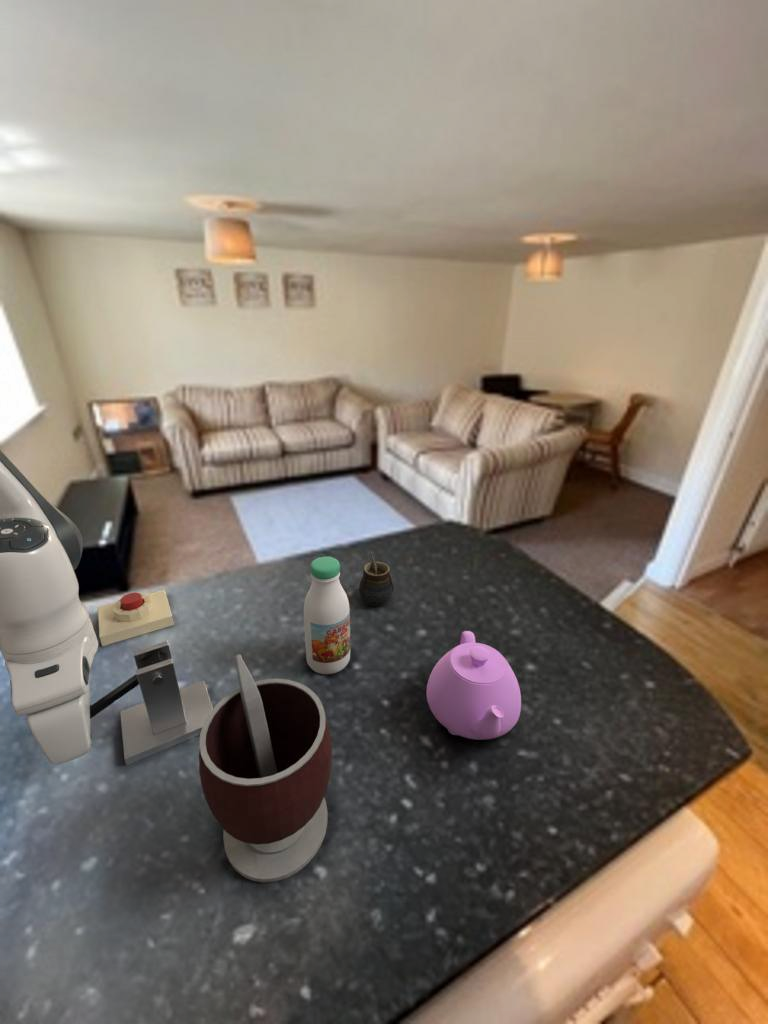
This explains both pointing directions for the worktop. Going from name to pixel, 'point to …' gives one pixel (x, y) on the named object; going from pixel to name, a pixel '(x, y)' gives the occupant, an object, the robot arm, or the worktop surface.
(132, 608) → the button
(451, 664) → the teapot
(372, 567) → the mate gourd
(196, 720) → the bracket
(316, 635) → the milk bottle
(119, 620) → the button box
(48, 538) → the robot arm
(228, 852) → the mate gourd
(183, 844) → the worktop surface
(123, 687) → the lever
